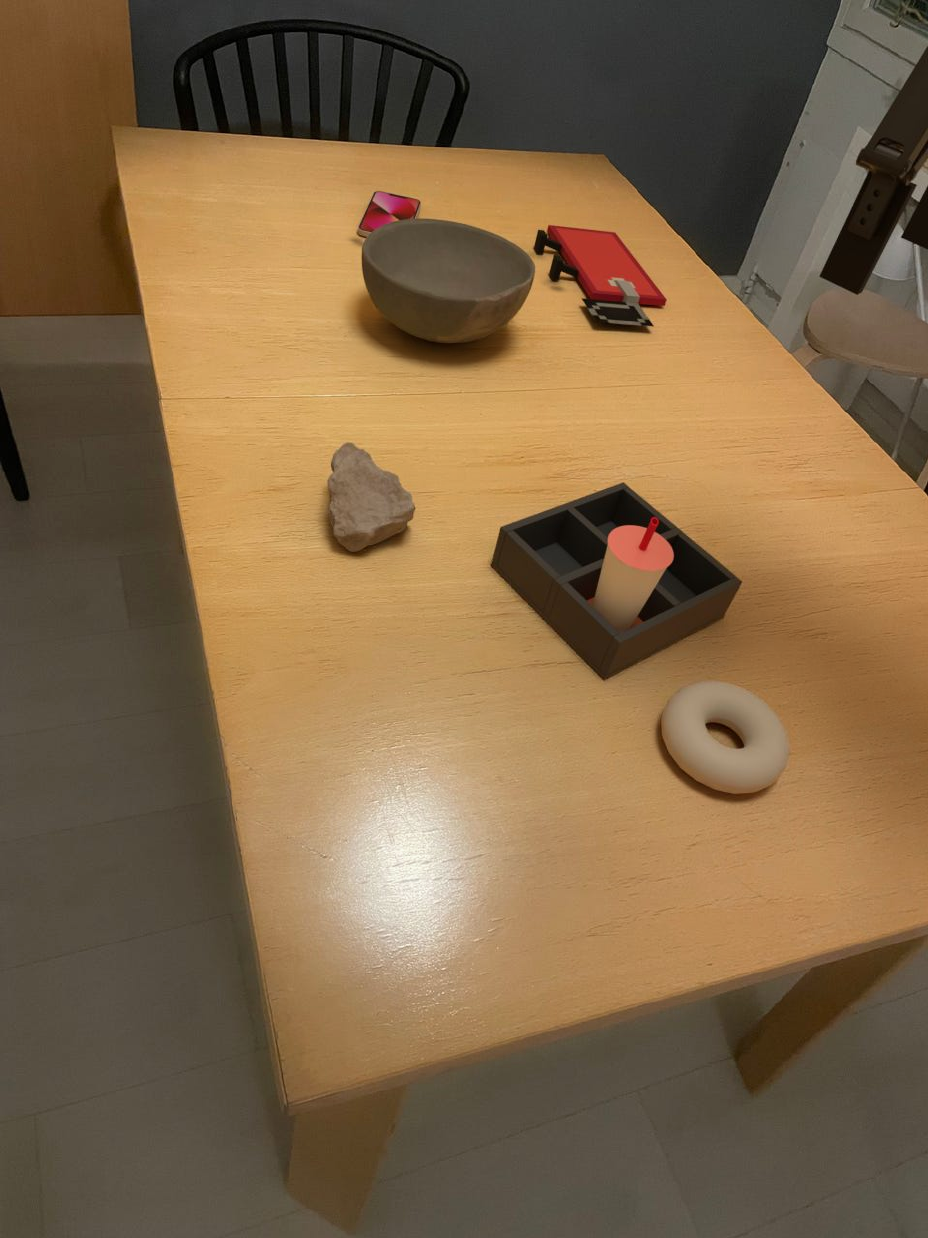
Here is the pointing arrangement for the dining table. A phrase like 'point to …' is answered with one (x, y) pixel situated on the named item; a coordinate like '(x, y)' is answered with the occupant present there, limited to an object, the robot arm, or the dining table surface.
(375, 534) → the stone
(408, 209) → the smartphone
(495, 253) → the bowl
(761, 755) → the donut
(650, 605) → the grid
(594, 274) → the red board with handle
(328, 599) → the dining table surface
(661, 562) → the cup
